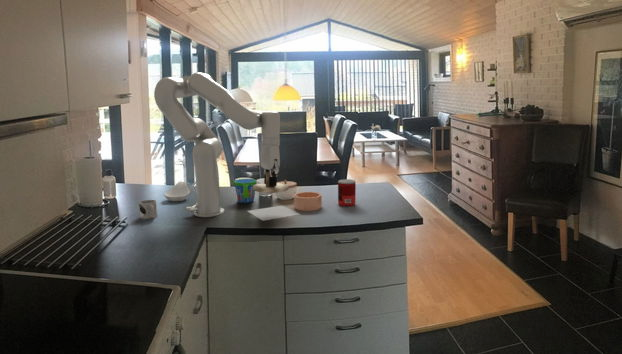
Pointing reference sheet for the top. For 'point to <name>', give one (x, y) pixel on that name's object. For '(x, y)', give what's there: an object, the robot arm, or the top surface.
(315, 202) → the bowl
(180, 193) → the spoon rest
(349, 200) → the canned food
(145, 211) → the mug
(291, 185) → the lidded jar
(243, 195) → the snack cup
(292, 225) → the top surface
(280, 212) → the mat
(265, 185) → the lid
